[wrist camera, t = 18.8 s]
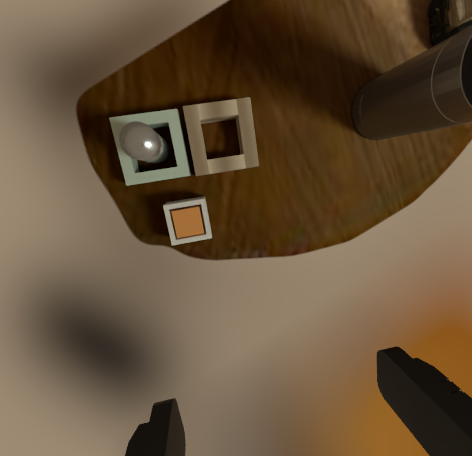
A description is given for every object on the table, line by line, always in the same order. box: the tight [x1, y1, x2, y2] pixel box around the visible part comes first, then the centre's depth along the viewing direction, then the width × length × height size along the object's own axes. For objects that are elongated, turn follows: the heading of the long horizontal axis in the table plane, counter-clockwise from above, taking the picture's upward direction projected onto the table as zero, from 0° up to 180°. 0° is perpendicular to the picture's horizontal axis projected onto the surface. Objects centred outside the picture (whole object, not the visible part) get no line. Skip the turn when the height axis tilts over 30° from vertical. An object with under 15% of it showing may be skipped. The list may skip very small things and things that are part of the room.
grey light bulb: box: [119, 121, 169, 164], centre depth 32 cm, size 4×4×10 cm
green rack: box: [109, 109, 191, 186], centre depth 35 cm, size 9×9×3 cm
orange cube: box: [171, 204, 204, 238], centre depth 37 cm, size 4×4×4 cm
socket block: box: [183, 97, 259, 176], centre depth 36 cm, size 9×9×3 cm
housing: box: [163, 196, 212, 245], centre depth 38 cm, size 6×6×4 cm
